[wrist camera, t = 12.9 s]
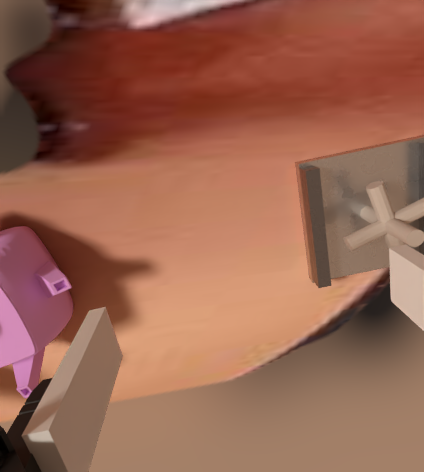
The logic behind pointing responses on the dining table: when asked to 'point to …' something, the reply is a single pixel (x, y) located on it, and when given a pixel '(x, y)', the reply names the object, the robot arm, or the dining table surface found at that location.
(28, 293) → the teakettle
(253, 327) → the dining table surface
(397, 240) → the pipe connector
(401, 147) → the cradle plate
